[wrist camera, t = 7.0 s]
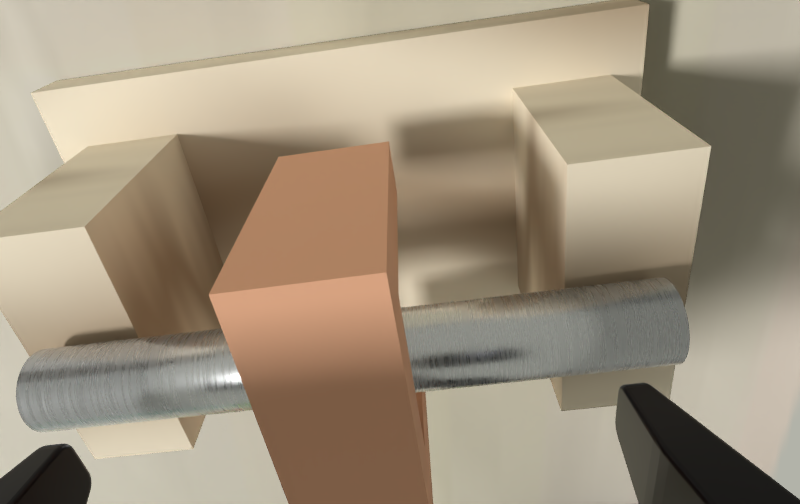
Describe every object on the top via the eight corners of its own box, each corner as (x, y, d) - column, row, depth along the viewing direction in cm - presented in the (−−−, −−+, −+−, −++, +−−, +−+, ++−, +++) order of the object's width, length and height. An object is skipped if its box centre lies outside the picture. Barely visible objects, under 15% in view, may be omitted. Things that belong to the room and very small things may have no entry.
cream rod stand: (608, 290, 18) (696, 441, 13) (172, 340, 19) (89, 501, 14) (630, -2, 14) (780, 46, 8) (56, 80, 15) (-136, 172, 9)
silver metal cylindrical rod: (647, 327, 11) (682, 383, 10) (84, 389, 12) (43, 450, 11) (655, 261, 10) (694, 312, 9) (50, 332, 11) (2, 389, 10)
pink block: (422, 356, 15) (436, 543, 10) (334, 366, 15) (308, 555, 10) (388, 141, 12) (386, 271, 7) (278, 157, 12) (208, 294, 7)
